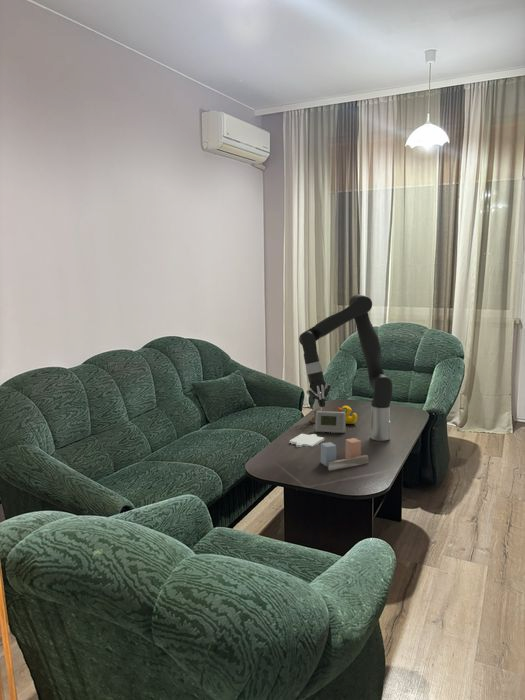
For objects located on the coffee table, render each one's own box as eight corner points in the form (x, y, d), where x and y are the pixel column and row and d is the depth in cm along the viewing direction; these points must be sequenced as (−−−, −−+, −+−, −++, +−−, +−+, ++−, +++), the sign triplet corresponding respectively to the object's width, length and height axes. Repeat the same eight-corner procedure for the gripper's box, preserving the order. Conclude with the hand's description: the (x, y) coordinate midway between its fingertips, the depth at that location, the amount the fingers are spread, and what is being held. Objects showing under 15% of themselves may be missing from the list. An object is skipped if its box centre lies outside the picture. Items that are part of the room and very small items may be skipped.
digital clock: (313, 432, 287) (313, 413, 285) (318, 427, 295) (318, 408, 293) (343, 435, 281) (343, 416, 279) (347, 430, 289) (347, 411, 287)
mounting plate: (303, 435, 283) (304, 432, 282) (326, 439, 276) (326, 436, 275) (286, 445, 268) (286, 442, 267) (309, 450, 261) (309, 447, 261)
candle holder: (324, 423, 301) (324, 388, 297) (308, 423, 302) (308, 387, 299) (325, 419, 309) (326, 384, 306) (310, 418, 311) (310, 384, 307)
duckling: (335, 423, 301) (335, 406, 300) (339, 420, 306) (339, 403, 304) (355, 426, 296) (355, 408, 294) (358, 423, 301) (358, 406, 299)
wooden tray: (313, 461, 246) (313, 452, 246) (351, 454, 254) (351, 446, 253) (329, 472, 234) (329, 463, 233) (368, 464, 242) (368, 456, 241)
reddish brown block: (345, 458, 248) (345, 439, 246) (354, 456, 250) (354, 437, 248) (351, 461, 243) (351, 442, 242) (360, 460, 245) (361, 441, 243)
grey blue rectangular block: (320, 462, 243) (320, 443, 241) (330, 460, 245) (330, 441, 243) (326, 466, 238) (326, 447, 236) (336, 464, 240) (336, 445, 238)
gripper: (306, 374, 253) (314, 410, 253) (330, 368, 259) (338, 403, 259) (299, 375, 260) (307, 410, 260) (322, 369, 266) (330, 403, 265)
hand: (322, 406), depth 259 cm, fingers closed
